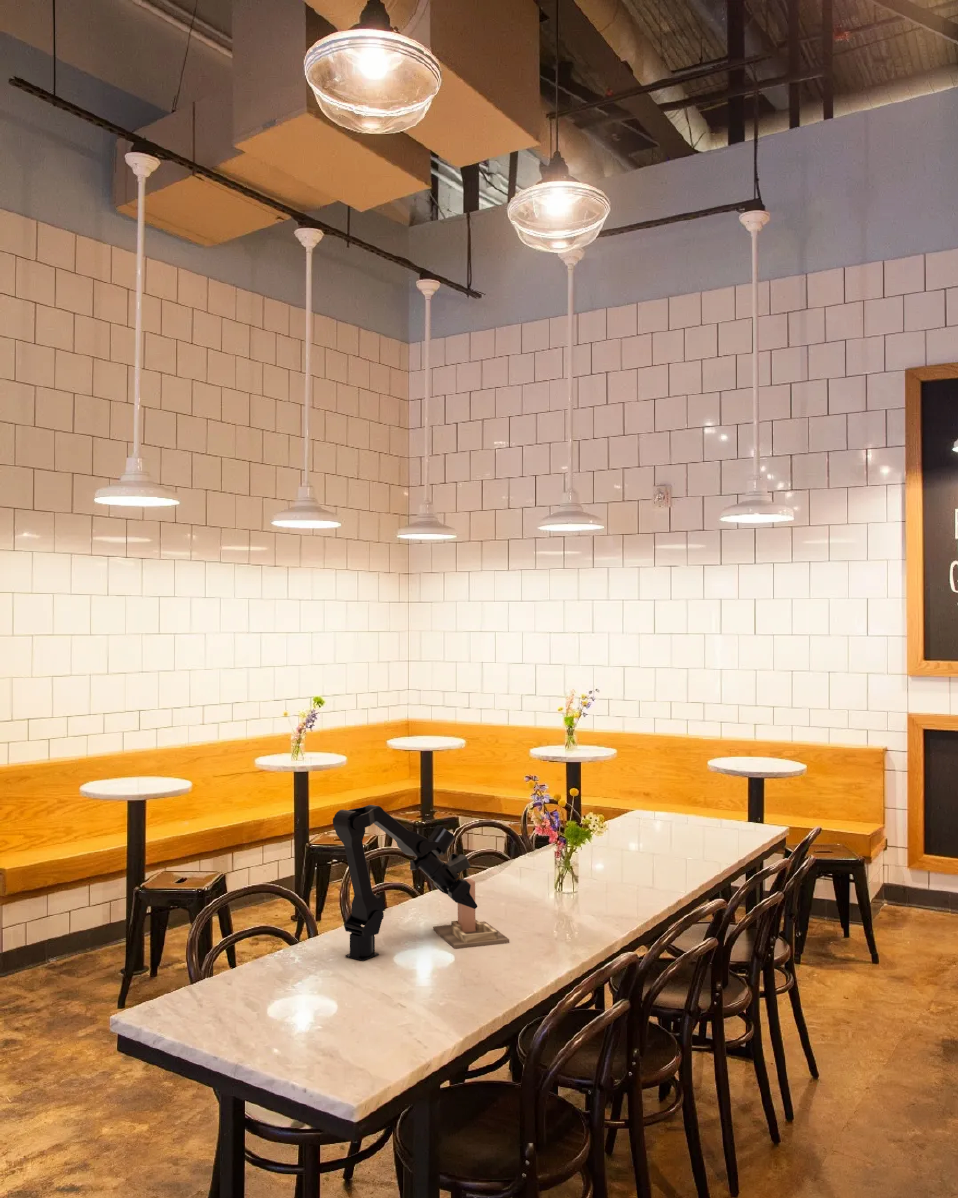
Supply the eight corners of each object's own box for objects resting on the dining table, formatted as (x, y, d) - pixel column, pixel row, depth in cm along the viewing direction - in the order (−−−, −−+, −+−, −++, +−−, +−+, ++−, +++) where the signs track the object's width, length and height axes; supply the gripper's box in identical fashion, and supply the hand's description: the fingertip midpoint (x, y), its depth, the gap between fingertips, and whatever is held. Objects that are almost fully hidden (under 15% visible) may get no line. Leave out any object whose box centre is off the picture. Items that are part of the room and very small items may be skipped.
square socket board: (509, 942, 279) (509, 931, 279) (454, 949, 274) (454, 937, 274) (484, 924, 298) (484, 914, 298) (433, 930, 293) (433, 919, 293)
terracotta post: (462, 932, 286) (461, 882, 287) (457, 929, 290) (457, 879, 291) (475, 931, 287) (475, 881, 288) (470, 927, 291) (470, 878, 292)
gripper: (463, 852, 280) (500, 889, 283) (443, 840, 298) (478, 875, 301) (436, 883, 277) (474, 920, 280) (417, 870, 294) (453, 904, 298)
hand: (471, 904), depth 290 cm, fingers open, 9 cm apart
